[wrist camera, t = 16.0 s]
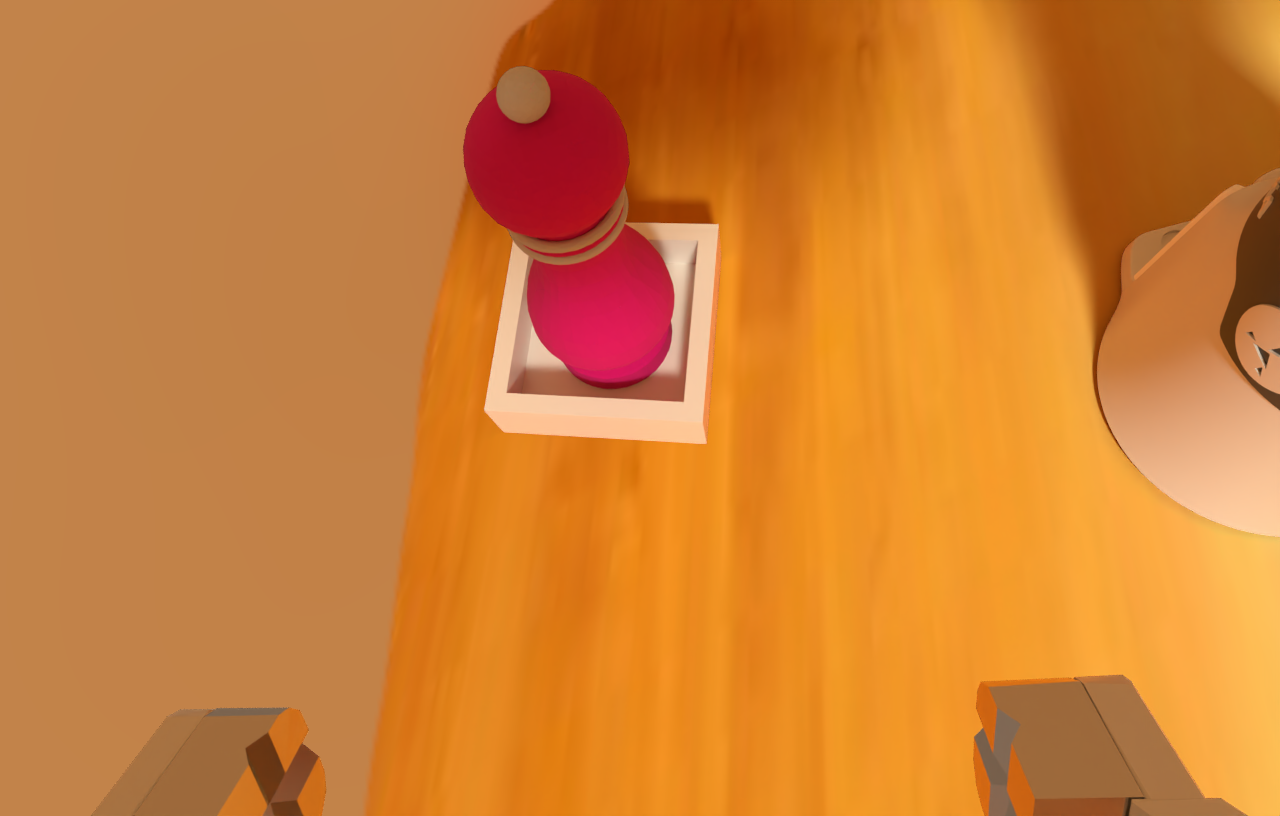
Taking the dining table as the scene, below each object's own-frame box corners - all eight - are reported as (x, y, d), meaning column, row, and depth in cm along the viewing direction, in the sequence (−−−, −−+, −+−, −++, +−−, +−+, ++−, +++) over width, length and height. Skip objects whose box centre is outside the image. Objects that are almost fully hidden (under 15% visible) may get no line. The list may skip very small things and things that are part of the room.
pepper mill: (538, 296, 47) (394, 23, 28) (664, 262, 47) (602, -37, 28) (563, 414, 44) (422, 199, 26) (696, 378, 44) (651, 135, 25)
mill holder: (721, 257, 47) (718, 224, 44) (706, 443, 44) (702, 422, 41) (532, 253, 49) (516, 220, 46) (503, 432, 46) (484, 410, 42)
